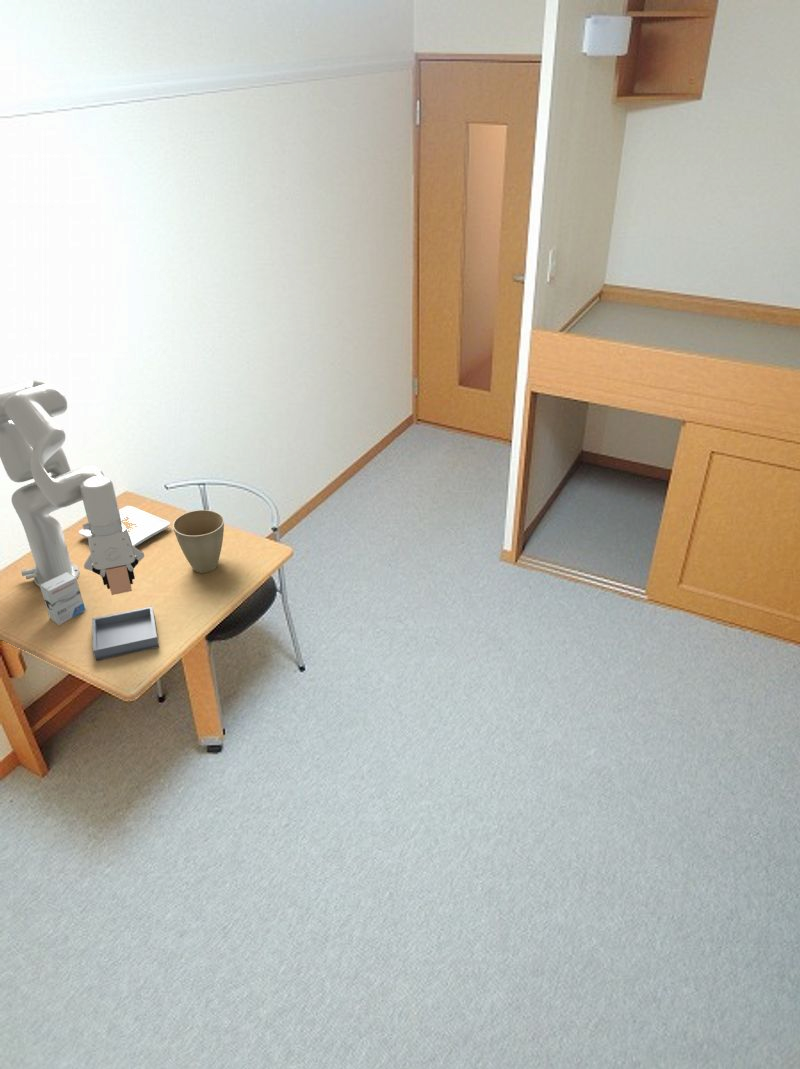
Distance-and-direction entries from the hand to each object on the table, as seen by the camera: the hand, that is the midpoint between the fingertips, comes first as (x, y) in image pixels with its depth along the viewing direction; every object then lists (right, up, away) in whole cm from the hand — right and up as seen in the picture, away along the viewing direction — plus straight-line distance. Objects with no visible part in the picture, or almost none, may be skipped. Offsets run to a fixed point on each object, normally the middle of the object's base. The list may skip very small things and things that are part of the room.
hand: (119, 583), depth 196 cm
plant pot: (+13, +3, +37) cm, 39 cm away
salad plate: (-17, +12, +52) cm, 56 cm away
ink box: (-21, -10, +16) cm, 28 cm away
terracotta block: (0, -1, +1) cm, 2 cm away
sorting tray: (-1, -15, +8) cm, 17 cm away
